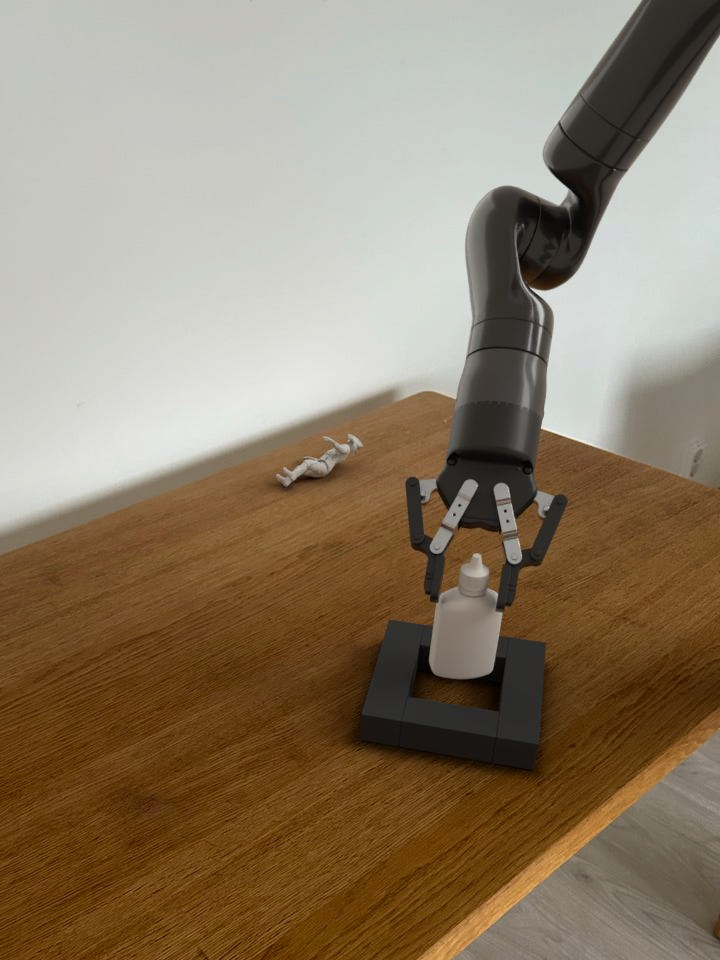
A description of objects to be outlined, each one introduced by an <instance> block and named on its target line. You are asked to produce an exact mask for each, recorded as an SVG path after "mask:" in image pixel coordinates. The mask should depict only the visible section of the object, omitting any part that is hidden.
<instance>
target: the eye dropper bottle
mask: <svg viewBox="0 0 720 960" xmlns="http://www.w3.org/2000/svg"><path fill="white" fill-rule="evenodd" d="M489 578H490V568H489V567H488V566H487V565H485V564H483V559H482V555H481V553H476V552H475V553H473V554H472V556H471V559H470V561H469V562H466V563H464V564H462V565H461V567H460V569H459V577H458V583H457V586H455V587H453V588H450V589H447V590H445V591H443V592H442V593H440V597H439V602H438V603H435V609H434V618H433V625H432V626H433V632H432V640H431V648H430V656H429V663H430V667H431V670H432V672H431V673H433V674H434V675H435V676H437V677H441V678H443V679H444V678H445V679H452V680H470V679H473V678H477V677H482V676H485V675H488V674H489V673H491V672H492V670H493V667H494V662H495V656H496V650H497V644H498V638H499V636H500V633H501V627H502V619H503V613H502V612H495V610H496V604H497V597H498V592H497V591H495V590H493V589H492V588H491V589H490V588H488V585H489Z"/></svg>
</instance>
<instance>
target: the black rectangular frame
mask: <svg viewBox="0 0 720 960" xmlns="http://www.w3.org/2000/svg"><path fill="white" fill-rule="evenodd" d="M432 632H433V625H429V624H423V623H415V622H409V621H401V620H395V619H388V622H387V626H386V629H385V633H384V636H383V639H382V643H381V646H380V649H379V651H378V652H379V653H378V656H377V660H376V663H375V666H374V670H373V673H372V675H371V680H370V683H369V687H368V690H367V694H366V696H365V699H364V704H363V707H362V711H361V713H360V728H359V741H364V742H369V743H375V744H381V745H386V746H387V745H388V746H392V747H398V748H404V749H409V750H414V751H421V752H426V753H433V754H438V755H443V756H450V757H456V758H460V759H466V760H473V761H478V762H485V763H489V764H495V765H500V766H507V767H513V768H518V769H523V770H528V771H534V770H535V764H536V761H537V755H538V750H539V746H540V735H541V720H542V706H543V693H544V679H545V666H546V654H547V653H546V652H547V649H546V648H547V642H544V641H539V640H531V639H530V640H529V639H524V638H518V637H512V636H511V637H510V636H504V635H499V638H498V644H497V650H496V656H495V662H494V667H493V670H492V672H491V673H489V674H488V675H485V676H482V677H477V678H472V679H474V680H481V681H488V682H493V683H499V684H501V685H500V695H499V700H498V701H499V702H498V709H497V710H490V709H485V708H478V707H474V706H473V707H472V706H468V705H461V704H454V703H448V702H444V701H443V702H442V701H437V700H430V699H423V698H419V697H412V693H413V688H414V684H415V680H416V676H417V672H418V671H423V672H430V673H433V672H432V670H431V667H430V663H429V656H430V648H431V640H432Z"/></svg>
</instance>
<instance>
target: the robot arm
mask: <svg viewBox="0 0 720 960" xmlns="http://www.w3.org/2000/svg"><path fill="white" fill-rule="evenodd" d="M719 38H720V0H641V1H640V2H639V4H638V5H637V6H636V8H635V10H634V11H633V12H632V14H631V15H630V17H628V20H626V22H625V24H624V25H623V27H622V28H621V29H620V31H619V32H618V34H617V36H615V38H614V40H613V41H612V42H611V44H610V45H609V47H608V48H607V49H606V51H605V53H604V54H603V56H602V57H601V59H600V60H599V61H598V62H597V64H596V65H595V67H594V68H593V70H592V71H591V72H590V74H589V75H588V77H587V78H586V80H585V81H584V83H583V84H582V86H581V87H580V89H579V90H578V92H577V93H576V95H575V96H574V97H573V99H572V100H571V102H570V103H569V105H568V106H567V108H566V109H565V110H564V112H563V114H562V115H561V117H560V119H559V120H558V122H557V123H556V124H555V126H554V127H553V129H552V131H551V132H550V133H549V135H548V136H547V139H546V140H545V143H544V145H543V147H542V154H541V155H542V161H543V163H544V165H545V167H546V169H547V170H548V172H549V173H550V174H551V175H552V176H553V177H554V178H555V179H556V180H557V181H558V182H560V184H562V185H563V186H564V187H565V188H566V189H567V193H566V196H565V197H564V199H563V200H562V202H561V203H560V204H557V203H554V202H553V201H550V200H548V199H545V198H544V197H541V196H539V195H536V194H534V193H533V192H530V191H528V190H526V189H523V188H521V187H519V186H514V185H509V184H507V185H500V186H497V187H495V188H493V189H490V191H488V192H487V193H486V194H484V195H483V196H482V198H480V200H479V201H478V202H477V203H476V206H475V207H474V208H473V210H472V212H471V214H470V217H469V220H468V223H467V228H466V231H465V232H466V233H465V238H464V240H465V241H464V259H465V268H466V276H467V286H468V295H469V304H470V312H471V326H470V331H469V337H468V342H467V349H466V355H465V361H464V365H463V368H462V372H461V374H460V378H459V381H458V384H457V385H458V386H457V391H456V397H455V402H454V407H453V414H452V421H451V426H450V432H449V439H448V444H447V451H446V457H445V461H444V462H445V463H444V466H443V468H442V469H441V471H440V472H439V473H438V474H437V476H436V478H428V479H419V478H418V477H416V476H410V477H408V478H406V479H405V495H406V507H407V519H408V531H409V540H410V547H411V549H412V550H414V551H417V552H418V551H419V552H420V553H422V554H424V555H425V556H426V558H427V562H426V569H425V575H424V581H423V590H424V594H425V595H428V596H429V602H430V603H434V604H436V603H438V602H439V597H440V595H441V591H442V585H443V578H444V573H445V567H446V556H445V555H446V554H447V552H448V551H449V548H450V547H451V545H452V544H453V542H454V540H455V539H456V538H457V536H458V534H459V532H460V531H461V529H467V530H472V529H473V530H474V529H481V530H484V531H487V532H489V533H490V532H492V533H498V538H499V542H500V546H501V549H502V555H503V558H504V564H502V567H501V573H500V579H499V585H498V592H497V593H498V597H497V604H496V610H495V612H502V614H503V613H504V612H505V609H506V607H508V608H509V607H511V608H512V605H513V604H514V603H515V600H516V593H517V586H518V581H519V573H520V572H521V570H522V569H525V568H528V567H535V568H536V567H540V566H541V565H542V563H543V561H544V559H545V558H546V555H547V553H548V550H549V548H550V545H551V543H552V541H553V538H554V536H555V535H556V532H557V529H558V527H559V525H560V523H561V520H562V518H563V516H564V514H565V511H566V508H567V506H568V502H569V500H568V497H567V496H566V495H564V494H563V493H558V494H556V495H552V494H550V493H547V492H544V491H542V490H538V485H537V483H536V479H535V471H536V464H537V457H538V451H539V444H540V439H541V431H542V425H543V419H544V417H545V406H546V399H547V391H548V390H547V389H548V388H547V387H548V386H547V385H548V384H547V381H548V380H547V379H548V367H549V360H550V353H551V347H552V342H553V335H554V327H555V326H554V325H555V315H554V311H553V308H552V307H551V306H550V304H549V303H548V302H547V301H546V300H545V299H544V298H543V297H542V296H541V295H539V294H538V293H536V291H540V292H548V291H552V290H555V289H557V288H559V287H561V286H562V285H564V284H566V283H567V282H568V281H570V280H571V279H572V278H573V277H574V276H575V275H576V274H577V273H578V271H579V270H580V268H581V266H582V265H583V263H584V261H585V259H586V257H587V254H588V252H589V250H590V247H591V245H592V242H593V240H594V237H595V235H596V233H597V230H598V228H599V226H600V224H601V221H602V219H603V217H604V215H605V213H606V211H607V208H608V207H609V204H610V203H611V200H612V198H613V196H614V194H615V192H616V189H617V188H618V186H619V184H620V182H621V181H622V179H623V178H624V176H626V175H627V172H629V170H630V168H632V166H633V165H634V163H635V162H636V161H637V159H638V158H639V157H640V156H641V154H642V152H643V151H644V150H645V149H646V147H647V146H648V145H649V144H650V142H651V141H652V139H653V138H654V137H655V135H656V134H657V133H658V132H659V130H660V128H661V127H662V126H663V125H664V124H665V122H666V120H667V119H668V118H669V116H670V115H671V113H672V112H673V110H674V108H675V107H676V106H677V104H678V103H679V102H680V100H681V98H682V97H683V95H684V94H685V92H686V91H687V89H688V87H689V86H690V84H691V83H692V81H693V79H694V78H695V76H696V74H697V73H698V71H699V69H700V68H701V66H702V65H703V63H704V62H705V60H706V58H707V57H708V55H709V53H710V52H711V50H712V48H713V47H714V45H715V44H716V42H717V41H718V39H719ZM534 290H535V291H534ZM436 492H437V494H438V496H439V497H440V499H441V501H442V502H443V504H444V506H445V508H446V510H447V513H446V515H445V516H444V518H443V519H442V521H441V523H440V526H439V528H438V530H437V532H436V533H435V535H434V537H431V536H429V535H427V534H425V528H424V527H425V526H424V518H423V517H424V516H423V507H426V506H428V505H429V504H430V502H431V498H432V495H433V494H435V493H436ZM533 504H534V505H535V506H536V507H537V513H536V516H537V518H538V520H540V521H542V524H541V526H540V528H539V531H538V533H537V534H536V537H535V538H534V539H535V540H534V542H533V543H532V546H531V547H529V548H524V549H521V545H520V540H519V533H518V527H517V523H516V520H518V518H519V517H520V516H521V515H522V514H523V513H524V512H525V511H526V510H528V509H529V507H531V506H532V505H533Z"/></svg>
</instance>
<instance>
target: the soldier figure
mask: <svg viewBox="0 0 720 960" xmlns="http://www.w3.org/2000/svg"><path fill="white" fill-rule="evenodd" d="M322 438H323V440H324V443H330V444H331V446H332V447H333V448H331V449H328V450H327V451H325V453H324V454H323V455H322V456H321V457H320V458H316V457H312V456H304V457H302V461H303V462H301V464H299V465H297V466H296V467H295V468H294V469H293V470H292V471H291V470H289V469H287V467H286V466H284V467H282V470H283V471H282V472H283V474H284V475H285V477H284V476H282V475H281V474H280V473H276V474H275V477H276V479H277V480H278V482H279V483H280V484H282V485H283V487H286V488H288V486H289V485H290V484H291V483H292V482H294V481H296V480H297V478H298V477H300V476H306V477H312V478H322V477H326V476H327V475H328V474H329V473H330V472H331V471H332V470H333V468H334V467H335V466H336V465H337V464H339V463H341V462H344V461H345V460H347V457H348V456H349V454H350V452H351V453H352V454H354V455H357V454H358V453H359V451H360V449H364V446H363V443H362V441H361V440H360V439H359V438H357V437H356V436H355V435H353V434H350V433H347V438H348V440H346V442H347V444H345V443H340V444H339V442H337V441H335V440H334V439H333V438H331V437H328V436H322Z"/></svg>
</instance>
